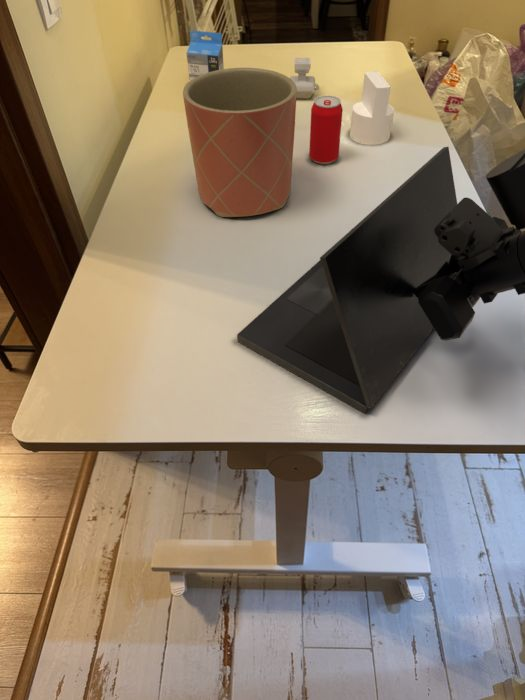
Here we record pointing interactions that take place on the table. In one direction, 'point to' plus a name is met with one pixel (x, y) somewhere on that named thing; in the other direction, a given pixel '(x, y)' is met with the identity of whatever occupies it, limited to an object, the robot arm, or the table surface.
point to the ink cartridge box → (204, 53)
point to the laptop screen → (390, 274)
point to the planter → (242, 139)
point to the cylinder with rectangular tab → (372, 112)
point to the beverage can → (325, 129)
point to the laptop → (307, 338)
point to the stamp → (304, 78)
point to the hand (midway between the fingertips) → (415, 292)
